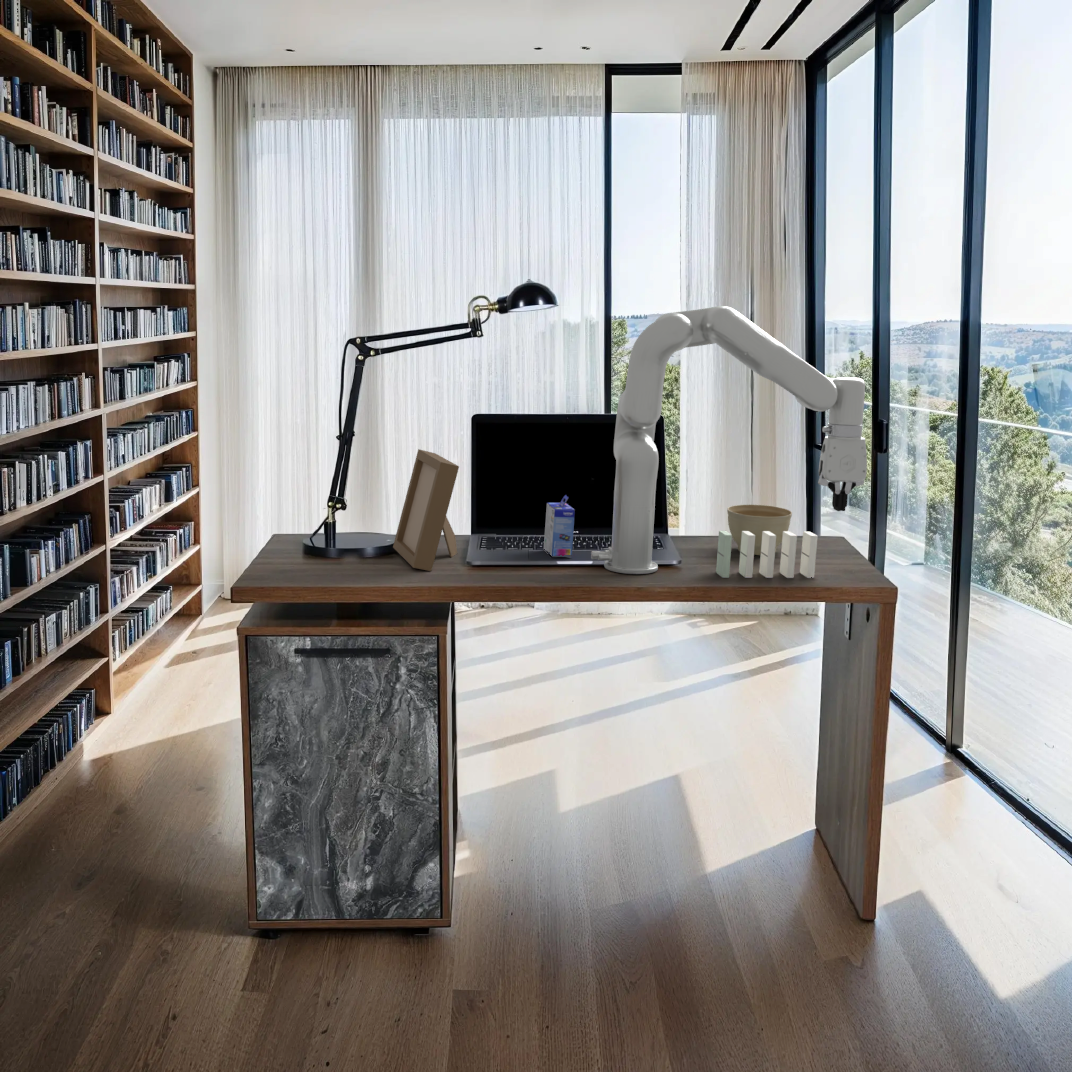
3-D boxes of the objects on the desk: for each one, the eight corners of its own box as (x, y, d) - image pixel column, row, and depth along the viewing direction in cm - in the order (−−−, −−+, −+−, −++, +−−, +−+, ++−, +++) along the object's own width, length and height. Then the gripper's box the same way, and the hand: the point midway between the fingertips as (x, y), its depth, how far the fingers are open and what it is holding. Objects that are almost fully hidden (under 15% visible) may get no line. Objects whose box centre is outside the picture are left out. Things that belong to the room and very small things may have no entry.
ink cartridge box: (573, 558, 276) (576, 499, 273) (551, 558, 275) (553, 499, 272) (564, 549, 285) (567, 492, 282) (543, 549, 284) (545, 492, 281)
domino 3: (766, 577, 264) (769, 535, 262) (759, 572, 268) (762, 531, 266) (772, 577, 264) (776, 535, 262) (765, 572, 269) (769, 531, 267)
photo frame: (413, 571, 257) (416, 461, 252) (392, 551, 277) (395, 449, 272) (476, 569, 261) (480, 462, 257) (451, 549, 282) (455, 449, 277)
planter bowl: (712, 546, 295) (715, 505, 293) (764, 543, 302) (768, 503, 299) (747, 560, 281) (750, 517, 279) (801, 556, 287) (804, 514, 285)
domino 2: (745, 577, 263) (748, 535, 261) (738, 572, 268) (741, 530, 266) (752, 577, 263) (755, 535, 261) (745, 572, 268) (748, 531, 266)
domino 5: (807, 577, 265) (811, 535, 263) (799, 572, 270) (803, 531, 268) (814, 577, 265) (817, 535, 263) (806, 572, 270) (809, 531, 268)
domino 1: (722, 572, 267) (725, 530, 265) (729, 577, 262) (732, 535, 260) (716, 572, 267) (718, 530, 265) (722, 577, 262) (725, 535, 260)
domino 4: (786, 577, 264) (790, 535, 262) (779, 572, 269) (782, 531, 267) (793, 577, 264) (797, 535, 262) (786, 572, 269) (789, 531, 267)
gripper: (819, 433, 257) (814, 513, 260) (882, 433, 259) (876, 512, 262) (807, 429, 264) (802, 507, 268) (868, 429, 266) (863, 507, 270)
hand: (839, 509), depth 265 cm, fingers closed
